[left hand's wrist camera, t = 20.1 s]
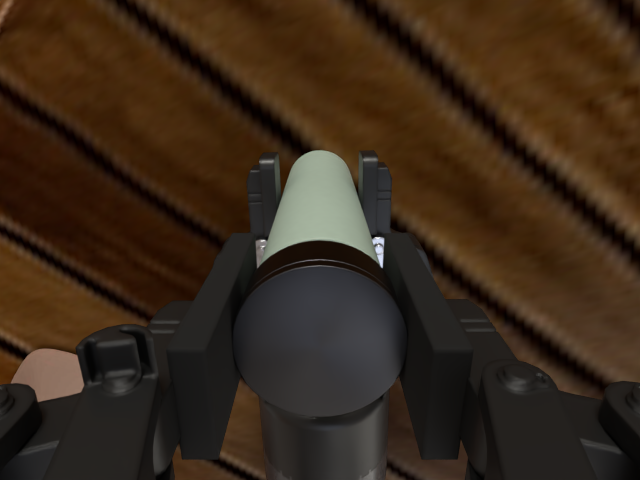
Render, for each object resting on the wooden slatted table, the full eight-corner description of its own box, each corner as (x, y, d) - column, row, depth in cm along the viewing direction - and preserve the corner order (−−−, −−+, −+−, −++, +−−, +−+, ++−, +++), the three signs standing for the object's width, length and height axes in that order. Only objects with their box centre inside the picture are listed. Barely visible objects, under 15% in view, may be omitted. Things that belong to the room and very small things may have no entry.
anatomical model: (-43, 376, 28) (137, 398, 28) (0, 341, 31) (158, 361, 32) (-19, 520, 32) (135, 537, 33) (16, 474, 36) (154, 490, 37)
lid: (212, 286, 12) (195, 318, 10) (350, 210, 11) (356, 232, 9) (293, 397, 13) (289, 441, 11) (423, 336, 12) (438, 374, 11)
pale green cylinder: (329, 222, 28) (342, 413, 12) (277, 191, 28) (215, 350, 11) (363, 171, 27) (427, 307, 11) (309, 137, 26) (293, 228, 10)
